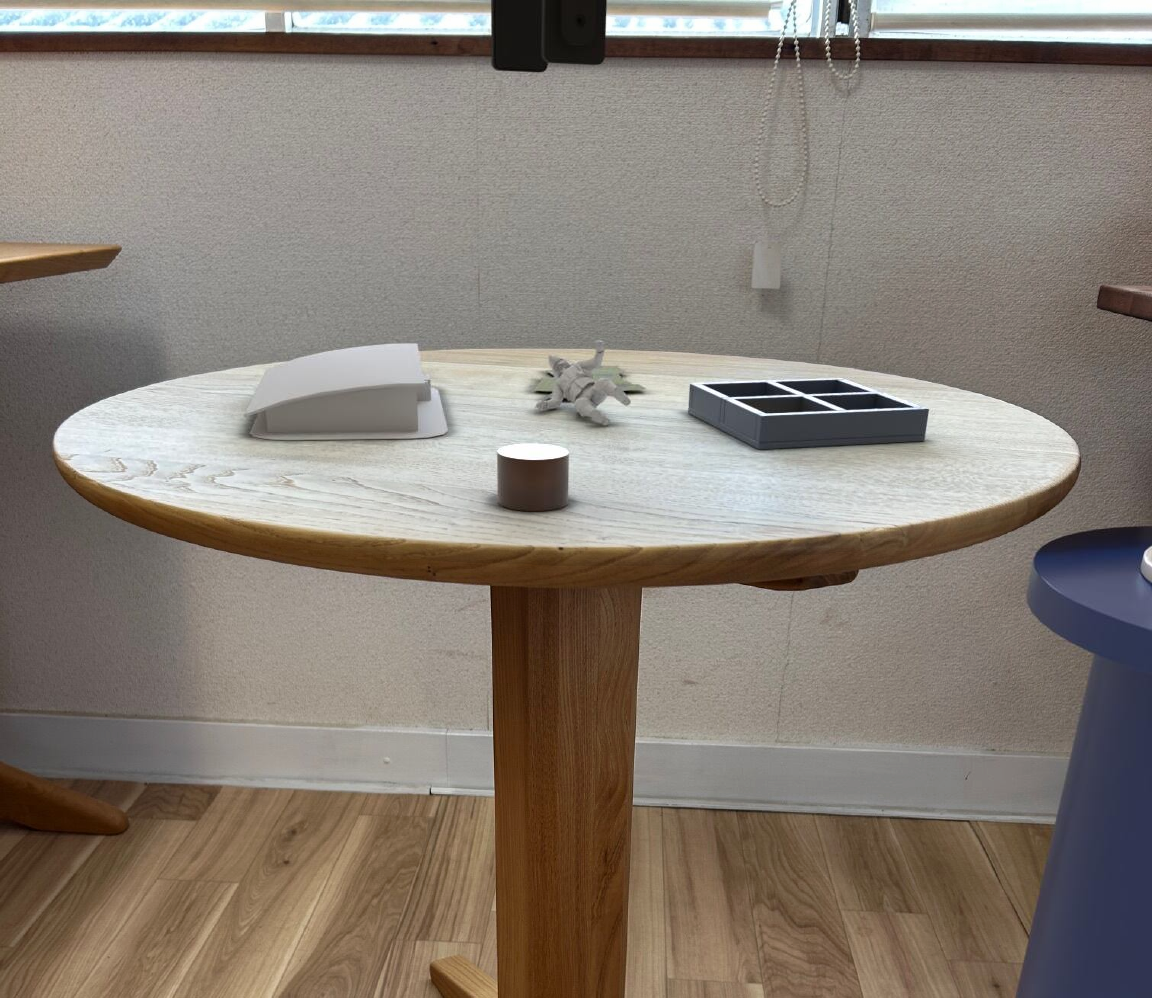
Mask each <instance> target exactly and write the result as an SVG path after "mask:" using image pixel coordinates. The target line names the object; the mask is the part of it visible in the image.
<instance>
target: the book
mask: <svg viewBox="0 0 1152 998" xmlns="http://www.w3.org/2000/svg"><path fill="white" fill-rule="evenodd" d="M254 414H255V415H256V414H257V415H256V418H255V420H254V422H253V425H252V427H251V429H250V432H249V434H250V435H251V436H252V437H254V438H259V439H263V440H271V441H272V440H273V441H274V440H275V441H327V440H328V441H330V440H331V441H332V440H333V441H335V440H341V441H342V440H410V439H411V440H413V439H426V438H427V439H429V438H433V437H440V436H443V435H445V434H446V433H448V431H449V429H448V424H447V420H446V417H445V412H444V409H443V405H442V399H441V396H440V392H439V389H438V388H435V387H433V386H432V383H431V376H430V374H429V373H424V370H423V366H422V360H421V355H420V350H419V345H418V343H415V342H414V343H409V342H408V343H385V344H384V343H383V344H374V345H362V346H355V347H348V348H340V349H333V350H327V351H321V352H319V353H313V354H309V355H305V356H301V357H296V358H294V359H291V360H288V361H285V362H282V363H280V364H276V365H274V366H271V367H268V368H266V369H265V371H264V372H263V374H262V377H261V379H260V381H259V383H258V385H257V388H256V390H255V391H254V394H253V395H252V397H251V400H250V402H249V404H248V406H247V409H246V411H245V412H244V418H246V417H249V416H252V415H254Z"/></svg>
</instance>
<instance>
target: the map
mask: <svg viewBox="0 0 1152 998" xmlns="http://www.w3.org/2000/svg"><path fill="white" fill-rule="evenodd" d="M545 371H546V372H547V373H549V374H550V375H551V376H553V370H552V369H546V370H545ZM624 372H625V369H620V366H619V365H601V366H600V367H599V368H597V369H595V370H593V371H592V372H590V373H592V374H593V378H592V379H593V380H594V381H595V382H597V381H598V380H599V379H601V378H608V379H610V380H611V381H612V383H614V384H615V385H616V386H617V387H619V388H620V389H622V390H623V392H624V391H625V392H626V391H638V390H640V391H641V390H647V388H646V387H644V386H642V385H641V384H639V383H632V382H630V381H627V380H624V379H622V376H621V373H624ZM555 382H556V379H555V378H554V376H553V377H540V381H539V382H538V383H537V386H536V387H535V388H534V389H533V390H534V391H535V392H551V393H550V394H548V395H546V396H545V397H544V399H551V398H552V395H553V388H554V384H555ZM564 399H567V398H566V397H564Z"/></svg>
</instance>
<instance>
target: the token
mask: <svg viewBox="0 0 1152 998" xmlns="http://www.w3.org/2000/svg"><path fill="white" fill-rule="evenodd" d="M569 467H570V452H569V450H568V449H566V448H564V447H561V446H558V445H553V444H545V443H517V444H510V445H505V446H502V447H500V448H498V449H497V451H496V475H497V476H496V479H497V481H496V483H497V484H496V485H497V486H496V487H497V492H496V493H497V503H498V505H499V506H501V507H503V508H507V509H510V510H515V511H520V512H521V511H523V512H546V511H553V510H558V509H562V508H564V507H566V506H567V505H568V504H569V481H570V480H569V478H570V475H569V474H570V472H569V471H570V469H569Z"/></svg>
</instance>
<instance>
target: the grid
mask: <svg viewBox="0 0 1152 998" xmlns="http://www.w3.org/2000/svg"><path fill="white" fill-rule="evenodd" d="M688 391H689V392H688V408H687V414H689V415H691V416H693V417H695V418H696V419H699V420H701V421H702V422H705V423H706V424H709V425H711V426H712V427H714V428H717V429H719V430H720V431H723V432H724V433H726V434H728V435H730V436H732V437H734V438H736V439H738V440H740V441H742V442H744V443H745V444H747V445H750V446H752V447H754V448H756V449H757V450H773V449H775V450H776V449H794V448H795V449H796V448H813V447H814V448H815V447H831V446H833V447H835V446H852V445H872V444H890V443H892V444H893V443H909V442H924V441H925V440H926V432H927V425H928V420H929V413H930V408H928V407H925V406H922V405H919V404H916V403H914V402H911V401H909V400H906V399H902V398H900V397H896V396H895V395H894V396H893V395H890V394H888V393H885V392H881V391H880V390H877V389H875V388H874V389H873V388H871V387H867V386H865V385H863V384H860V383H857V382H854V381H851V380H849V379H844V378H842V377H828V378H826V377H824V378H799V379H798V378H797V379H796V378H795V379H771V380H770V379H769V380H766V379H765V380H741V381H740V380H739V381H736V380H735V381H713V382H708V381H707V382H690V383H689V389H688Z"/></svg>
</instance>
